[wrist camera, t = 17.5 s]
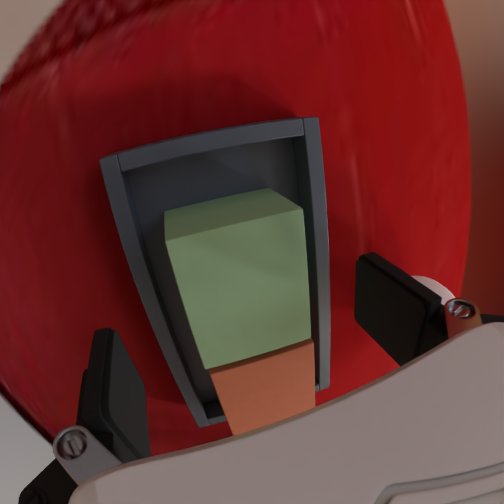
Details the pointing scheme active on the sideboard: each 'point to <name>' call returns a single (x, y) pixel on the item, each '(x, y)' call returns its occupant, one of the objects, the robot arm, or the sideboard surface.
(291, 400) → the orange block
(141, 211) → the holder
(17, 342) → the sideboard surface
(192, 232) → the green block
